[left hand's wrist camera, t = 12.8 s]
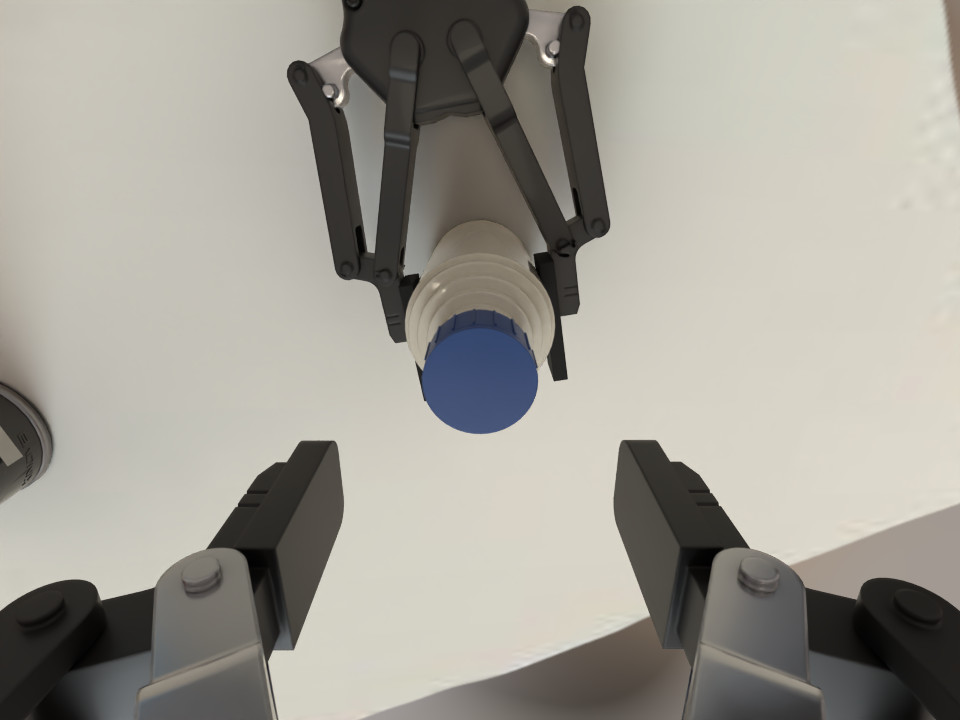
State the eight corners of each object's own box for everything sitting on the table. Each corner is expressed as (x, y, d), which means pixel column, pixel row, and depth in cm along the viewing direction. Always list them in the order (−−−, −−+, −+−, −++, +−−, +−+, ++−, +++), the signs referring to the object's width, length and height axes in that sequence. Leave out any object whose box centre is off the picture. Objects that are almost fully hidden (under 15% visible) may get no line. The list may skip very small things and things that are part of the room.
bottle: (468, 198, 32) (457, 240, 16) (550, 260, 33) (617, 359, 17) (410, 281, 34) (346, 397, 17) (490, 337, 35) (498, 492, 19)
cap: (468, 285, 18) (466, 301, 16) (555, 348, 19) (564, 371, 17) (406, 369, 19) (397, 394, 17) (490, 424, 20) (492, 455, 18)
